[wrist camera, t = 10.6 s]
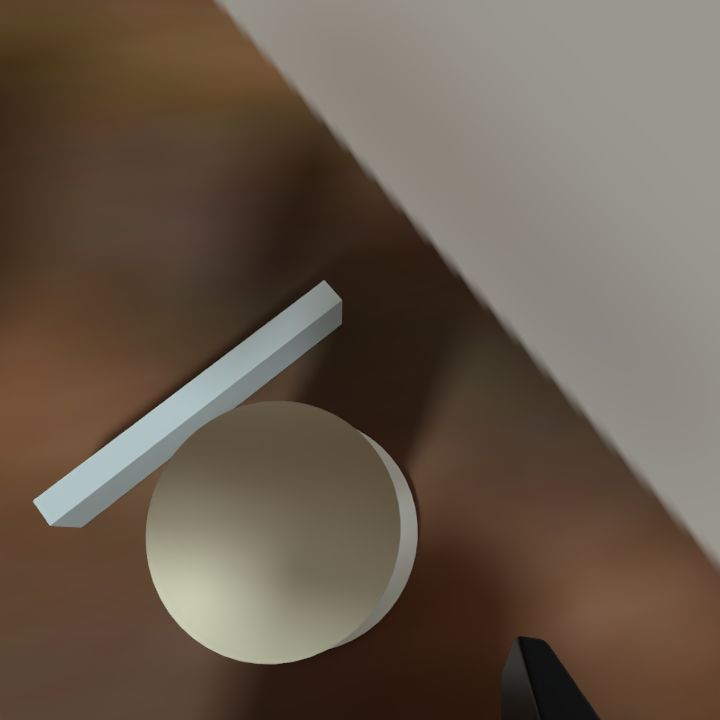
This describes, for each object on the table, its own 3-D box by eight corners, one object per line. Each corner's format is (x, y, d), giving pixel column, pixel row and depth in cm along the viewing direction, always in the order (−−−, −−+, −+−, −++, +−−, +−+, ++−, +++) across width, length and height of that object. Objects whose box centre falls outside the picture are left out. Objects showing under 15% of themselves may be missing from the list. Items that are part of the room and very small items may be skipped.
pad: (409, 660, 21) (410, 662, 21) (175, 640, 21) (172, 642, 21) (422, 428, 23) (423, 427, 23) (210, 410, 23) (209, 408, 23)
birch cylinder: (369, 613, 21) (391, 676, 11) (223, 600, 21) (122, 652, 11) (380, 466, 22) (408, 412, 13) (243, 454, 22) (170, 390, 13)
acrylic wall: (81, 527, 22) (49, 525, 19) (66, 505, 22) (32, 501, 20) (341, 323, 24) (341, 300, 22) (326, 305, 24) (324, 280, 22)
